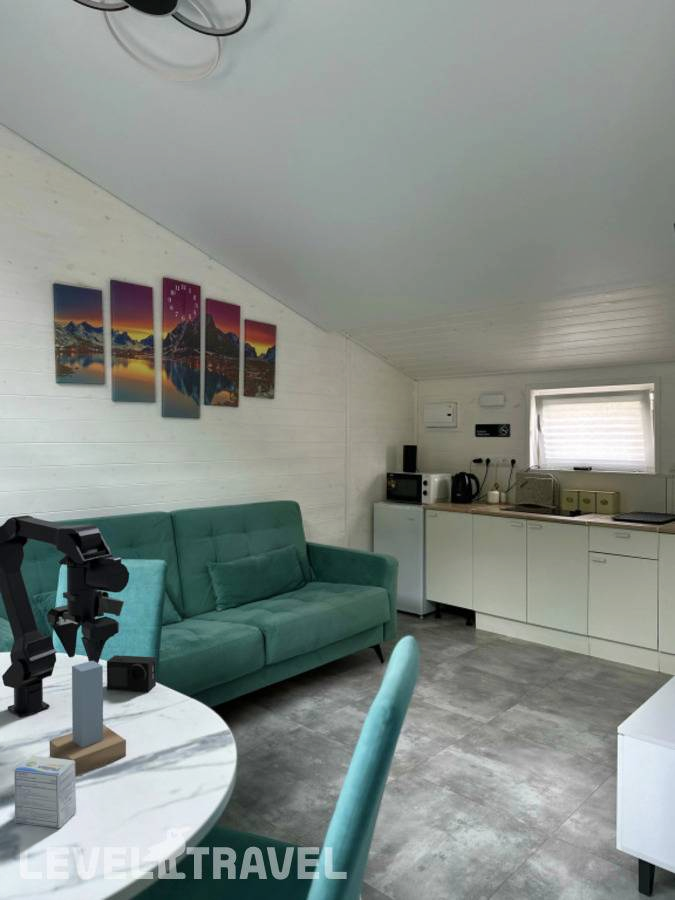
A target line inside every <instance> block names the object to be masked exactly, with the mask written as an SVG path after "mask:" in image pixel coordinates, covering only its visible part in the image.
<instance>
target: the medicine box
mask: <svg viewBox="0 0 675 900" xmlns="http://www.w3.org/2000/svg"><path fill="white" fill-rule="evenodd" d="M13 771H14V772H13V774H14V775H13V776H14V779H13V780H14V781H13V782H14V785H13V787H14V817H15V818H14V822H15V823H16V824H24V825H31V826H38V827H39V826H40V827H46V828H47V827H48V828H55V829H61V828H62V827H63V826H64V825H65V824H66V823H67V822H68V821H69V820H70V819H71V818H72V817H73V816H74V815H75V814H76V813H77V792H76V791H77V789H76V776H75V761H74V760H66V759H58V758H51V757H50V756H49V757H48V756H39V755H38V756H37V755H32V756H30V757H29V758H28V759H26V760H25V761H23V762H21V764H19V765H18V766H17V767H16V768H14V770H13Z"/></svg>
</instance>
